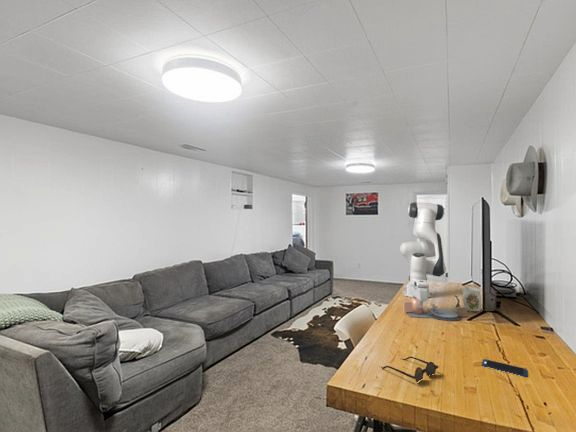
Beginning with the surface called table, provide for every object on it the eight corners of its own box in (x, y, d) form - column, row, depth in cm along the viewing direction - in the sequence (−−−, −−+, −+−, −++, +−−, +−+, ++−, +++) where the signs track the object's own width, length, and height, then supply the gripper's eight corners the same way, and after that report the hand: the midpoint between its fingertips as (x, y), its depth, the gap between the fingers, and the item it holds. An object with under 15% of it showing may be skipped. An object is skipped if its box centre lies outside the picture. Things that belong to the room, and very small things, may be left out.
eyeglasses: (414, 386, 105) (414, 371, 105) (377, 368, 117) (377, 355, 117) (438, 374, 114) (438, 360, 114) (401, 359, 126) (401, 346, 126)
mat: (403, 310, 194) (403, 309, 194) (423, 311, 193) (423, 310, 193) (410, 317, 180) (410, 316, 180) (432, 318, 179) (432, 317, 179)
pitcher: (492, 315, 187) (493, 292, 187) (457, 310, 196) (458, 288, 196) (491, 311, 196) (491, 288, 196) (458, 306, 205) (458, 285, 205)
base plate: (423, 311, 192) (423, 310, 192) (452, 312, 191) (452, 311, 191) (433, 320, 175) (433, 319, 175) (466, 321, 174) (466, 320, 174)
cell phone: (483, 360, 126) (483, 358, 126) (527, 371, 118) (527, 369, 118) (481, 367, 121) (481, 365, 121) (527, 378, 112) (527, 376, 112)
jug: (402, 311, 190) (401, 298, 190) (422, 311, 189) (421, 297, 189) (405, 314, 184) (404, 300, 184) (426, 313, 183) (425, 299, 184)
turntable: (435, 317, 177) (436, 308, 177) (426, 310, 191) (426, 302, 191) (472, 319, 175) (472, 310, 175) (460, 312, 189) (461, 303, 189)
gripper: (407, 277, 197) (406, 300, 197) (418, 284, 177) (417, 309, 176) (417, 278, 196) (417, 300, 196) (429, 285, 176) (429, 310, 176)
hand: (417, 305), depth 186 cm, fingers open, 8 cm apart
